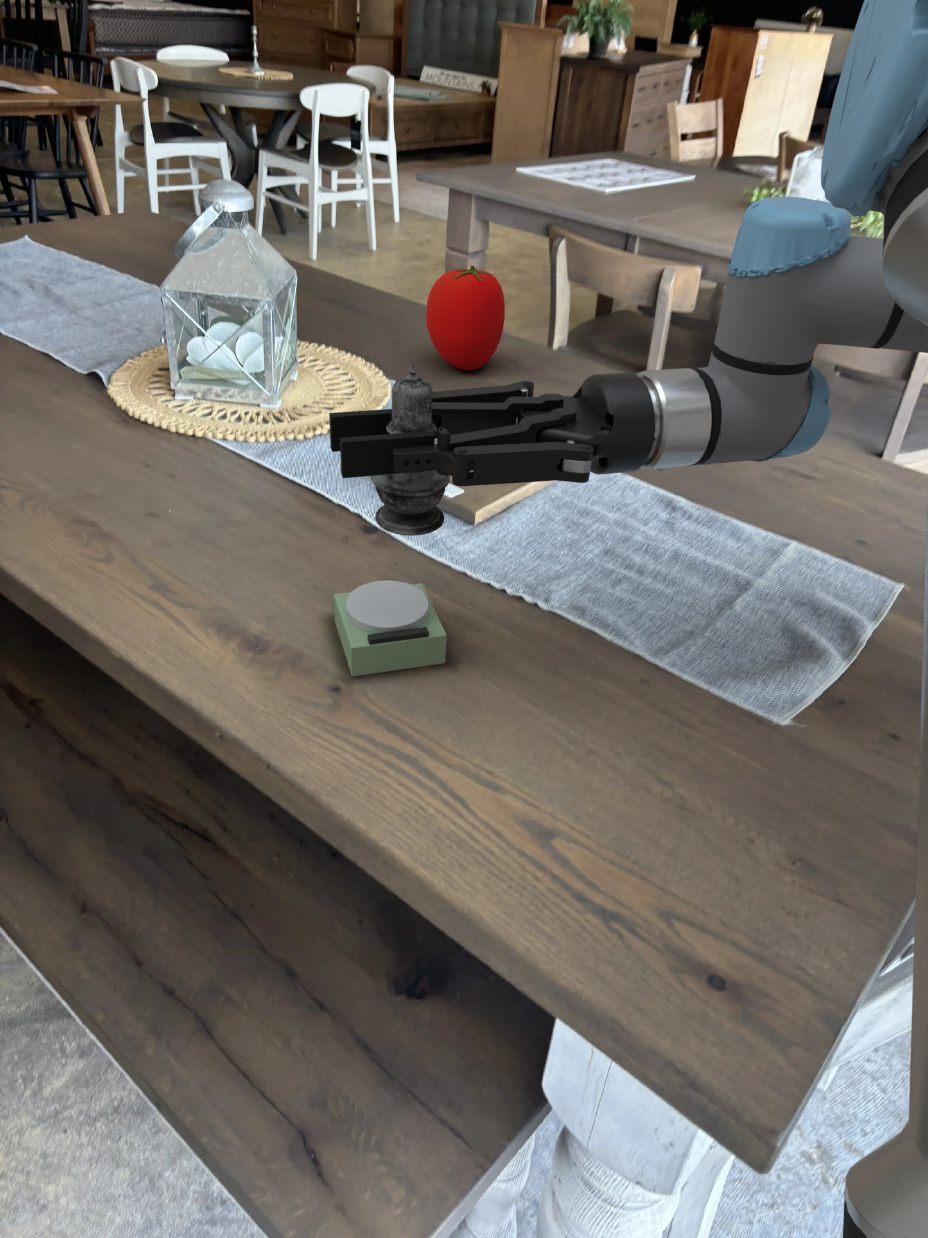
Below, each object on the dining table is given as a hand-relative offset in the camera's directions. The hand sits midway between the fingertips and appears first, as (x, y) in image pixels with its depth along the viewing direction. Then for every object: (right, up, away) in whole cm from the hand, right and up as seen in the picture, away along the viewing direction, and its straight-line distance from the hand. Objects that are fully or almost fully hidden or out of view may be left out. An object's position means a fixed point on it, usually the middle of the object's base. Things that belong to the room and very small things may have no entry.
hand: (336, 445), depth 64 cm
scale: (+2, -14, +15) cm, 21 cm away
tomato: (+9, +25, +71) cm, 76 cm away
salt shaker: (+5, -5, +5) cm, 9 cm away
